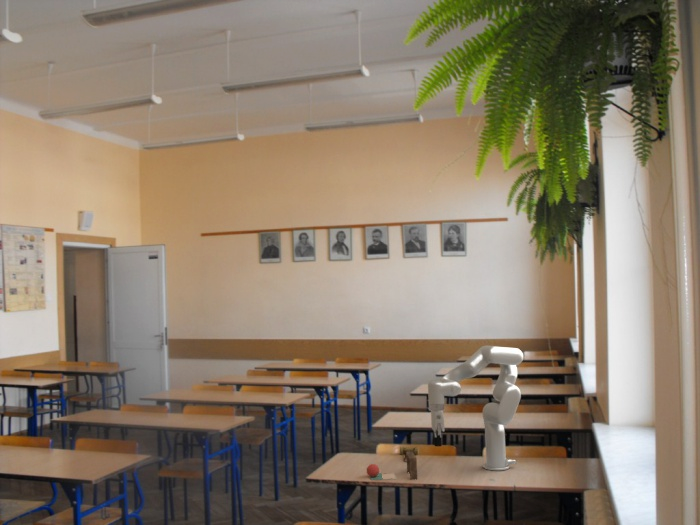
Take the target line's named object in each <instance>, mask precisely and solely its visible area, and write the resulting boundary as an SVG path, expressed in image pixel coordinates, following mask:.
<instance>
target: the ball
mask: <svg viewBox="0 0 700 525" xmlns="http://www.w3.org/2000/svg"><path fill="white" fill-rule="evenodd" d="M379 473H380V468H379V466H378V465H377V464H375V463H371V464H369V465H368V466H367V467H366V474H367V475H368V476H369V477H376V476H377V475H378V474H379Z"/></svg>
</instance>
